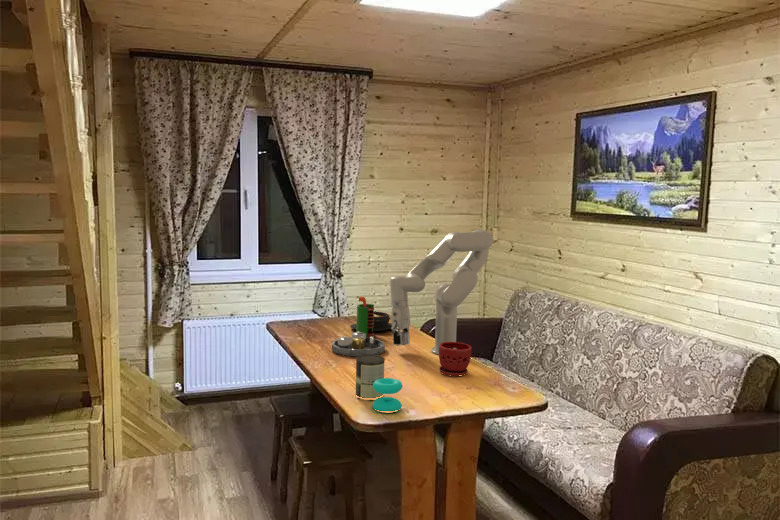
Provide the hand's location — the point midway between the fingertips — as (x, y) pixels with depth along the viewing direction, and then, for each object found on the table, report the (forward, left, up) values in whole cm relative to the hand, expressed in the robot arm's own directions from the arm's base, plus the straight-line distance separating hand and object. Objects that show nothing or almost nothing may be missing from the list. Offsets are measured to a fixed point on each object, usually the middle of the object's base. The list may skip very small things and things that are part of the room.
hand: (401, 341), depth 300 cm
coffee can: (-19, +61, -5) cm, 64 cm away
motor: (+29, -18, -5) cm, 35 cm away
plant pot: (-34, +18, -5) cm, 38 cm away
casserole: (+33, -34, -5) cm, 48 cm away
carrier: (+18, +7, -5) cm, 20 cm away
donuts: (-31, +70, -5) cm, 77 cm away
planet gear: (0, 0, -1) cm, 1 cm away
